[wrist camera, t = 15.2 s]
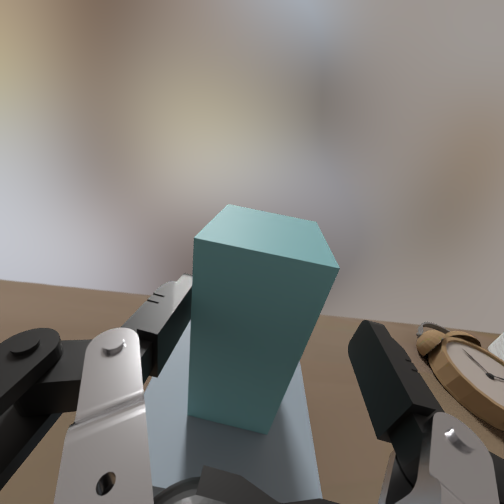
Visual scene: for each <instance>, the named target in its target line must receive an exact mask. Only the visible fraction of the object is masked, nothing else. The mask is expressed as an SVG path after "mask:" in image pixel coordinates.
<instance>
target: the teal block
mask: <svg viewBox="0 0 504 504" xmlns="http://www.w3.org/2000/svg"><path fill="white" fill-rule="evenodd" d="M339 269H340V268H339V266H338V264H337V262H336V260H335V258H334V256H333V254H332V252H331V250H330V248H329V246H328V244H327V242H326V240H325V238H324V236H323V235H322V232H321V231H320V228H319V226H318V225H317V222H313V221H309V220H303V219H299V218H294V217H289V216H284V215H279V214H274V213H269V212H264V211H259V210H254V209H249V208H245V207H240V206H234V205H230V204H228V205H227V206H226V207H225V208H224V209H223V210H222V211H221V212H220V213H219V214H218V215H217V216H216V217H215V218H214V219H213V220H212V221H211V222H209V223H208V225H206V226H205V227H204V228H203V229H202V230H201V231H200V232H199V233H198V234H197V235H196V236H195V237H194V252H193V277H192V303H191V329H190V355H189V381H188V407H187V415H188V416H192V417H197V418H201V419H205V420H209V421H213V422H217V423H221V424H225V425H229V426H233V427H237V428H241V429H245V430H249V431H254V432H258V433H262V434H266V435H267V434H268V432H269V430H270V427H271V425H272V423H273V420H274V418H275V416H276V414H277V411H278V409H279V407H280V404H281V402H282V400H283V397H284V395H285V393H286V391H287V388H288V386H289V384H290V381H291V379H292V377H293V375H294V372H295V370H296V368H297V365H298V363H299V361H300V359H301V356H302V354H303V352H304V349H305V347H306V345H307V342H308V340H309V338H310V336H311V333H312V331H313V329H314V326H315V324H316V322H317V320H318V317H319V315H320V313H321V310H322V308H323V306H324V304H325V301H326V299H327V296H328V294H329V292H330V290H331V287H332V285H333V283H334V281H335V278H336V276H337V274H338V271H339Z"/></svg>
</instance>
